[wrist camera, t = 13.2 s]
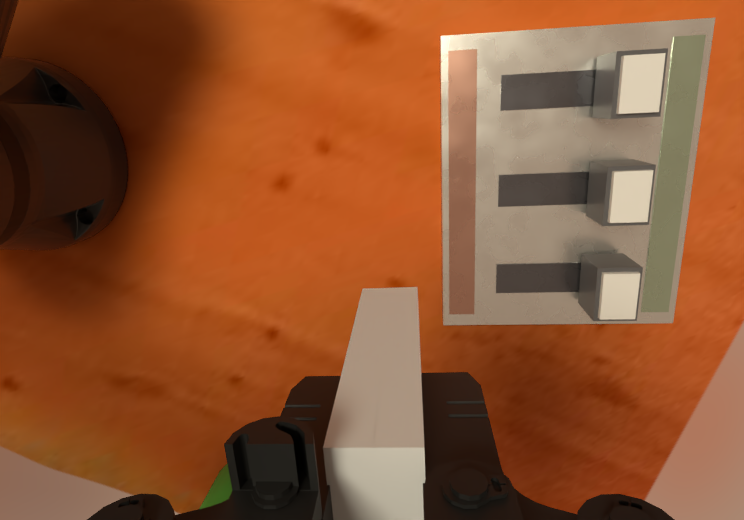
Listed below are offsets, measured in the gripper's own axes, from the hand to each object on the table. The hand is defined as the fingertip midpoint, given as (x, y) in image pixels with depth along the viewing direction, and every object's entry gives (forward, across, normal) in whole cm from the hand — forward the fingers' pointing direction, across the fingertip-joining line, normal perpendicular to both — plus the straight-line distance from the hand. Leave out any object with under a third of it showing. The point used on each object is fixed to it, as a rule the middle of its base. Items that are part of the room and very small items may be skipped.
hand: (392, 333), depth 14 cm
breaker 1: (+25, +15, +6) cm, 30 cm away
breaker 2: (+25, +15, -1) cm, 29 cm away
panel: (+27, +12, -1) cm, 29 cm away
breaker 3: (+25, +15, -8) cm, 30 cm away
